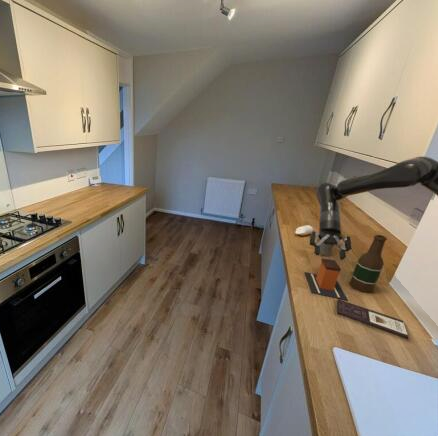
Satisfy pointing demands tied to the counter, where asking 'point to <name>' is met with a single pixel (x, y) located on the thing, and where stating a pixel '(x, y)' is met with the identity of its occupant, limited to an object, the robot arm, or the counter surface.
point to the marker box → (328, 274)
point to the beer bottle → (369, 267)
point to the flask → (325, 248)
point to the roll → (304, 230)
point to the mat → (316, 289)
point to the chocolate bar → (372, 318)
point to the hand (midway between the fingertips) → (329, 257)
